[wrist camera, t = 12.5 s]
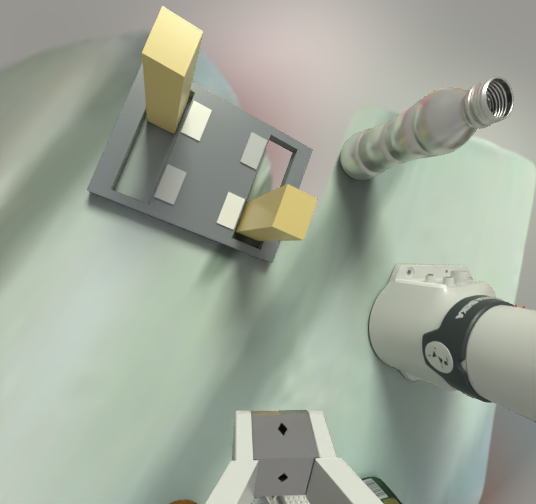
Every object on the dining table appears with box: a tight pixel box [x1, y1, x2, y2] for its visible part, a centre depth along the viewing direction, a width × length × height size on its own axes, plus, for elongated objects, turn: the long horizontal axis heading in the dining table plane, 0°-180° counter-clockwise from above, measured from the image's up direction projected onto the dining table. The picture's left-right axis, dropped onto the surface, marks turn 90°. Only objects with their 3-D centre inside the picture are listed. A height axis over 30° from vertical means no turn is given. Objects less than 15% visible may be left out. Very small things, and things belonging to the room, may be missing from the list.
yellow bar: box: [142, 6, 203, 134], centre depth 29 cm, size 4×3×13 cm
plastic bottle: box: [340, 77, 514, 180], centre depth 35 cm, size 6×7×20 cm
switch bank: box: [87, 63, 313, 263], centre depth 36 cm, size 16×22×2 cm
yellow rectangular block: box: [235, 184, 318, 241], centre depth 33 cm, size 4×3×13 cm
